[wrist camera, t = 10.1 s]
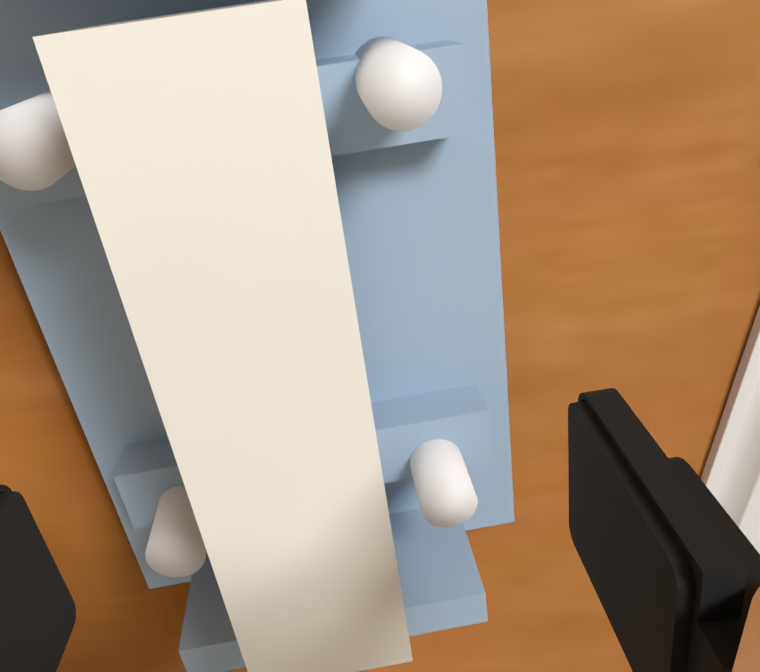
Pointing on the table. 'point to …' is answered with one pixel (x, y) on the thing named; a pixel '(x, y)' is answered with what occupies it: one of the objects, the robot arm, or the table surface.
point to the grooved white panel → (740, 445)
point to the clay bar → (243, 314)
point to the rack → (368, 276)
